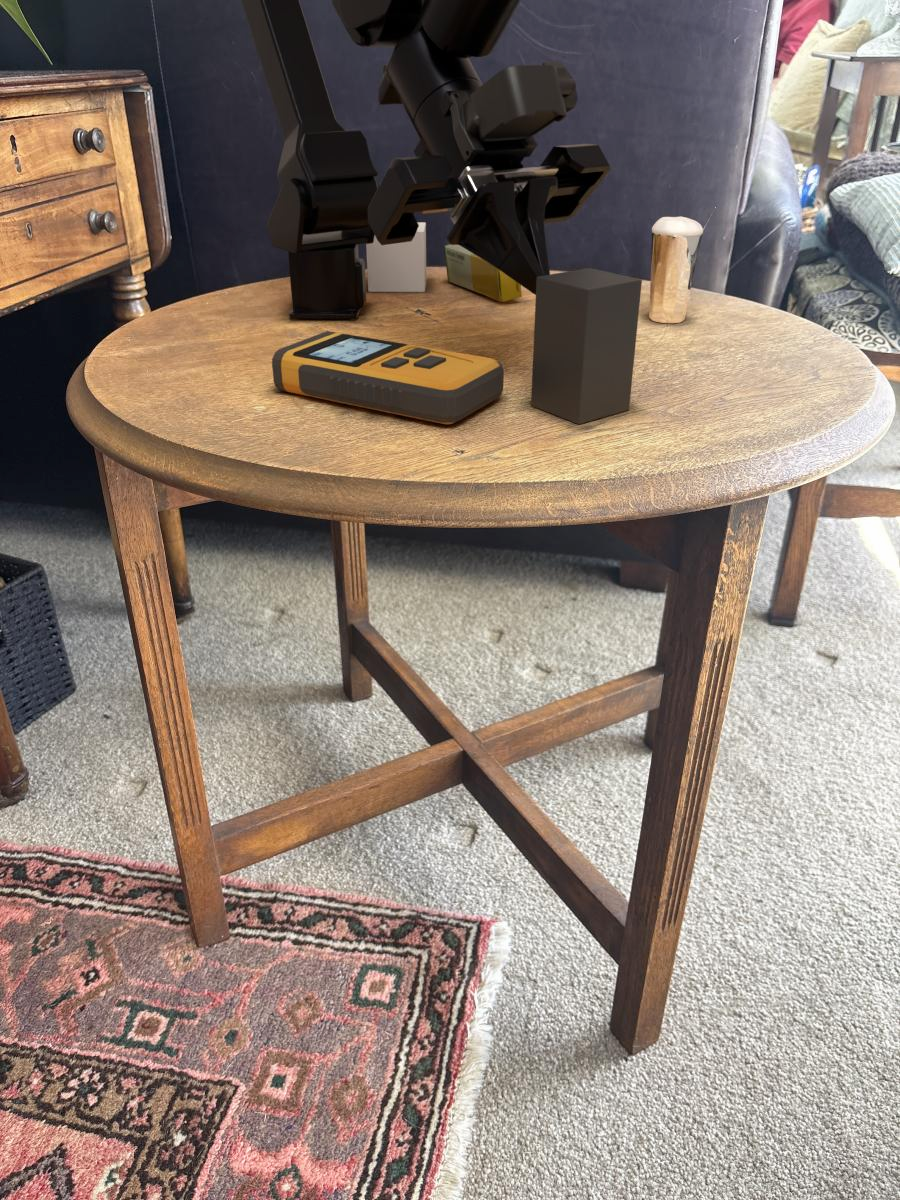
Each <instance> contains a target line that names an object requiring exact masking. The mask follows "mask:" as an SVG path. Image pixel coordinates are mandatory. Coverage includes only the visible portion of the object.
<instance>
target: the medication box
mask: <svg viewBox="0 0 900 1200" xmlns="http://www.w3.org/2000/svg"><path fill="white" fill-rule="evenodd" d="M443 252H444V261H445V268H446V276H447V283H452V284H455V285H457V286H459V287H463V288H465V289H467V290H470V291H473V292H475V293H477V294H481V295H483V296H485V297H488V298H490V299H493V300H496V301H498V302H501V303H504V302H508V301H511V300H515V299H518V298H521V297H522V295H523V294H522V285H520V284H519V283H517V282H516V281H515V280H513V279H512V278H510V277H509V276H507V275H506V274H505V273H503V272H502V271H500V270H499V269H497V268H496V267H494V266H493V265H491V264H490V263H488V262H487V261H485V260H483V259H482V258H480V257H478V256H477V255H475V254H473V253H472V252H470V251H468V250H466V249H465V248H463V247H461V246H460V245H450V244H449V243H448V244H446V245H443Z"/></svg>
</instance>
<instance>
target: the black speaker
mask: <svg viewBox="0 0 900 1200" xmlns="http://www.w3.org/2000/svg"><path fill="white" fill-rule="evenodd" d="M642 283H643V280H642V279H640V278H636V277H631V276H628V275H623V274H618V273H614V272H610V271H605V270H600V269H597V268H593V267H587V268H581V269H575V270H569V271H563V272H556V273H550V275H544V276H539V277H537V281H536V295H535V303H534V304H535V305H534V306H535V308H534V327H533V330H534V331H533V351H532V352H533V353H532V372H531V373H532V374H531V394H530V395H531V397H530V398H531V399H530V406H531V407H534V408H536V409H539V410H542V411H543V412H547V413H549V414H551V415H553V416H557V417H559V418H562V419H564V420H567V421H569V422H572V423H574V424H577V425H582V424H584V423H587V422H588V423H589V422H592V421H595V420H598V419H603V418H605V417H609V416H613V415H615V414H619V413H623V412H625V411H629V410H630V405H631V404H630V403H631V393H632V385H633V374H634V365H635V364H634V363H635V355H636V345H637V344H636V343H637V335H638V334H637V333H638V323H639V314H640V304H641V302H640V301H641V296H642V295H641V293H642Z"/></svg>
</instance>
